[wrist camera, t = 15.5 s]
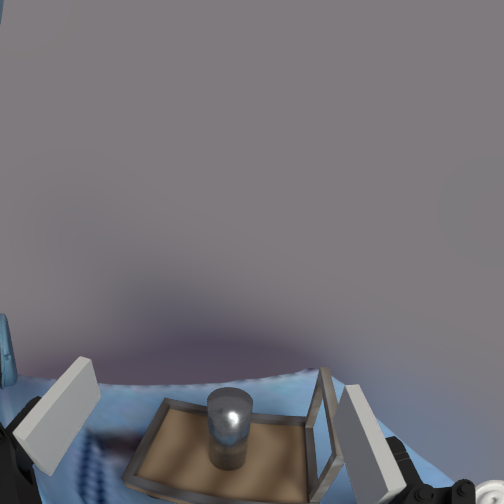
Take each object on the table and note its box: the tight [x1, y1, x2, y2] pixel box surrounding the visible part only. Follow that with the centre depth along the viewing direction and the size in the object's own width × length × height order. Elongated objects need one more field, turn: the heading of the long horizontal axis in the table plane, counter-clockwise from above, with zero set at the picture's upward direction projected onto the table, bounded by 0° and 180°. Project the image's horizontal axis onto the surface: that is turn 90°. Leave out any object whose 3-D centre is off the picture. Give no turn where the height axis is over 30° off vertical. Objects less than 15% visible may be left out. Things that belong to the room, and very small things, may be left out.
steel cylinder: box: [207, 387, 253, 471], centre depth 28 cm, size 5×5×12 cm
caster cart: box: [121, 367, 345, 504], centre depth 29 cm, size 24×18×19 cm
